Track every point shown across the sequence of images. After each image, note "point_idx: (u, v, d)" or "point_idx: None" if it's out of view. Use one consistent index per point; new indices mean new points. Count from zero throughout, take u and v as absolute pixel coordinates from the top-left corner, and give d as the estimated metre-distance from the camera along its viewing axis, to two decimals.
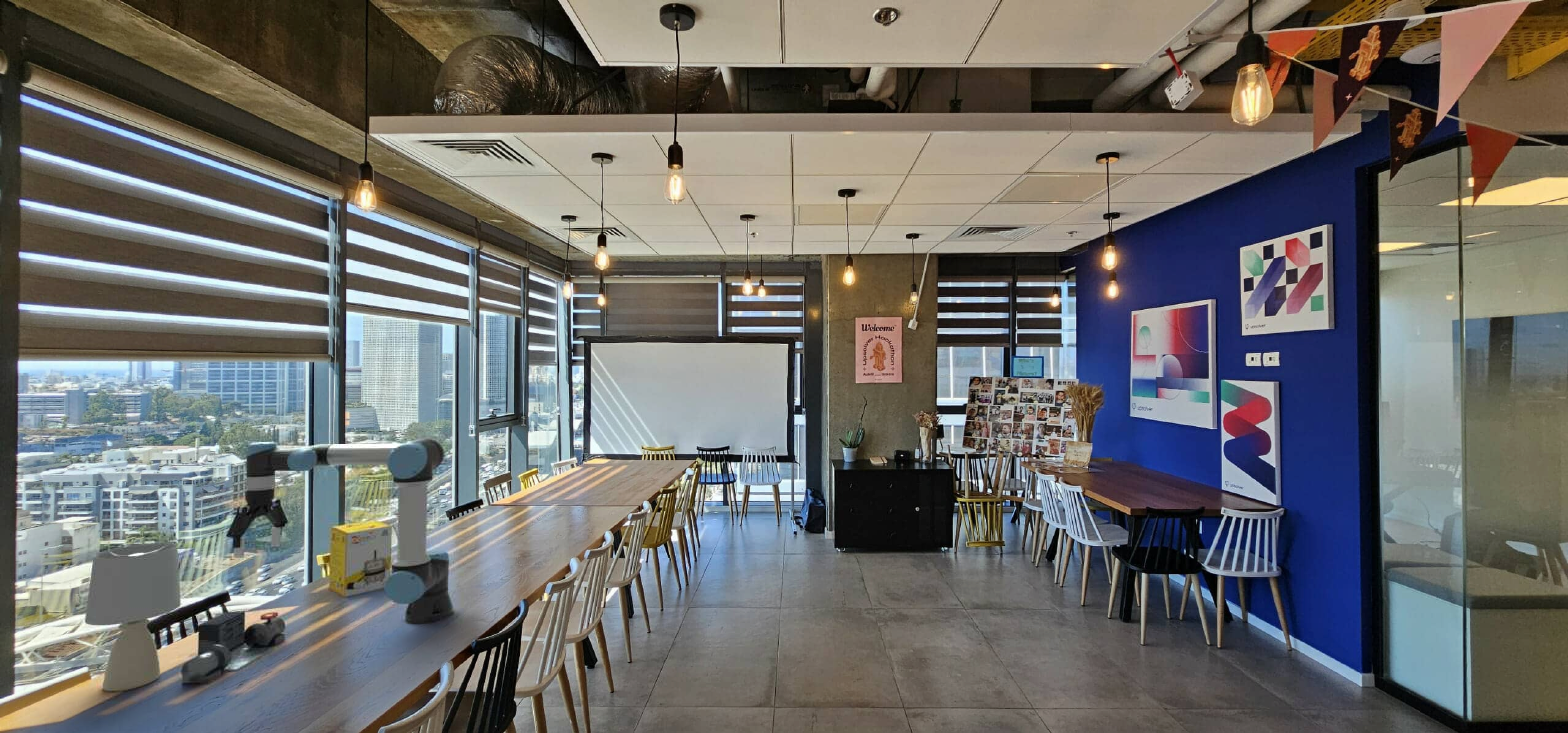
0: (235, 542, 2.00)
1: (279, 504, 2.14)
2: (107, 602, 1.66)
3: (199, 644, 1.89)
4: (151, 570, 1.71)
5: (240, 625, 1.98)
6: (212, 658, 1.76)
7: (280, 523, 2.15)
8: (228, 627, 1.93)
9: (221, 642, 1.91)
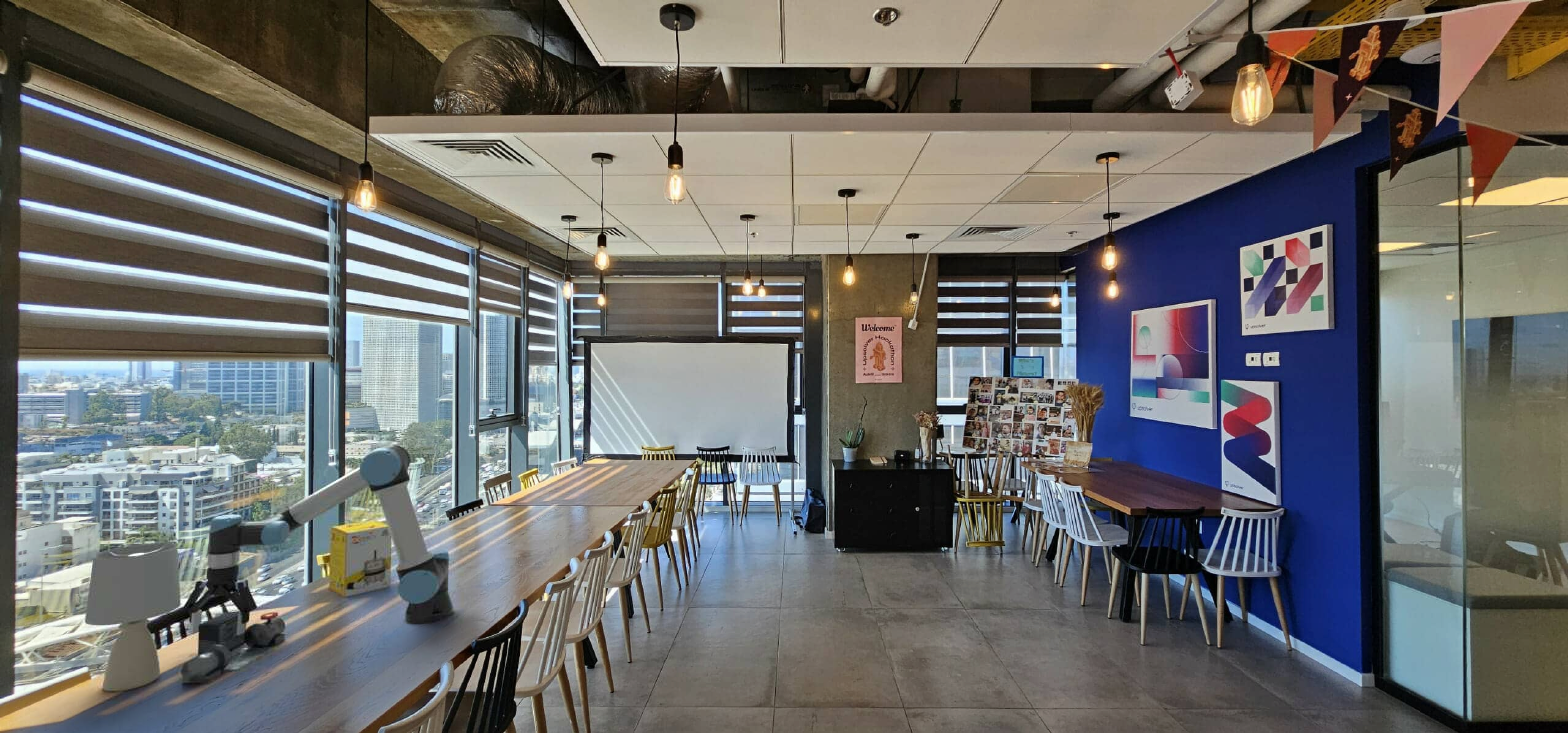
0: None
1: (239, 588, 1.94)
2: (107, 602, 1.66)
3: (199, 644, 1.89)
4: (151, 570, 1.71)
5: None
6: (212, 658, 1.76)
7: (240, 609, 1.94)
8: (228, 627, 1.93)
9: (221, 642, 1.91)
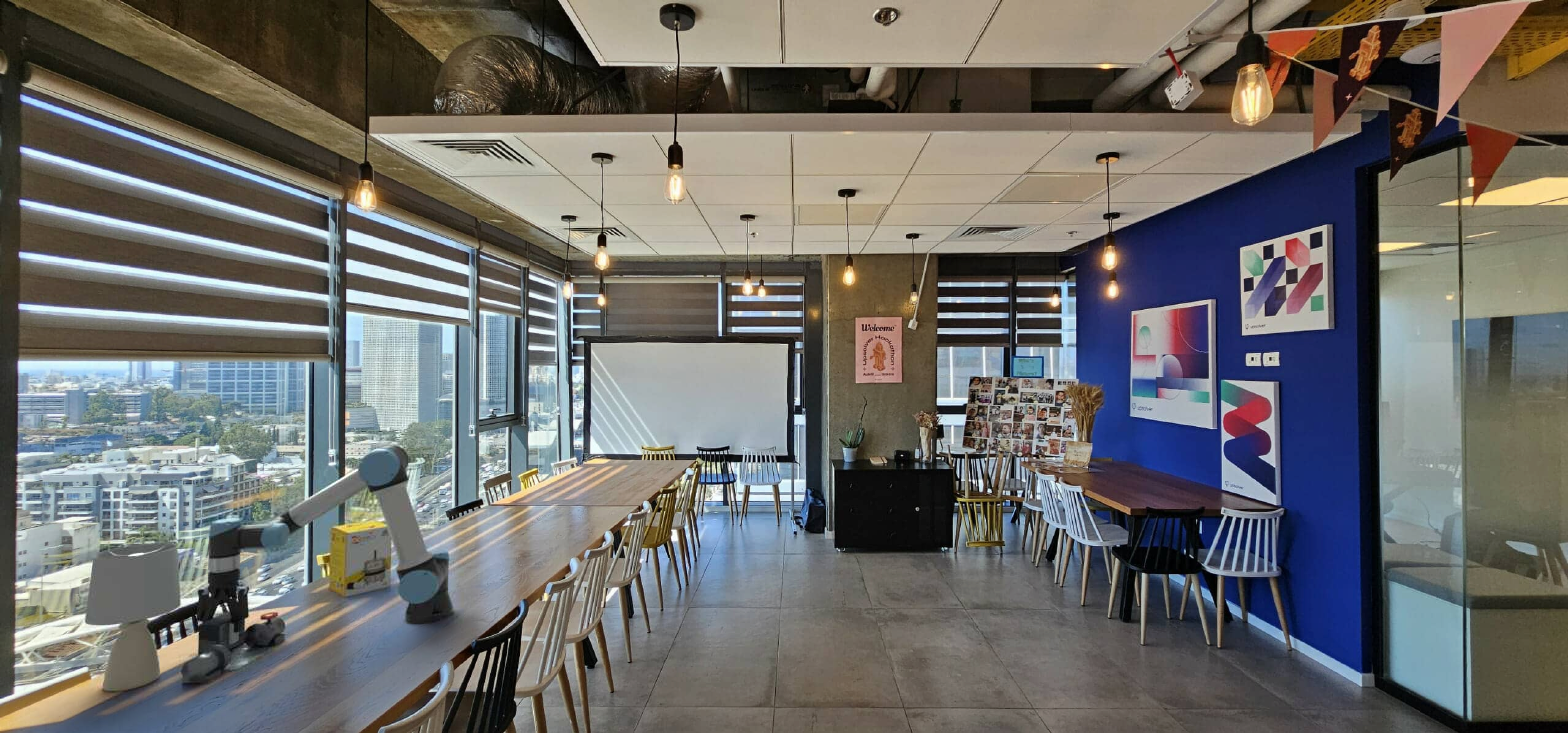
0: None
1: (239, 594, 1.94)
2: (107, 602, 1.66)
3: (199, 644, 1.89)
4: (151, 570, 1.71)
5: None
6: (212, 658, 1.76)
7: (233, 618, 1.94)
8: (228, 627, 1.93)
9: (221, 642, 1.91)
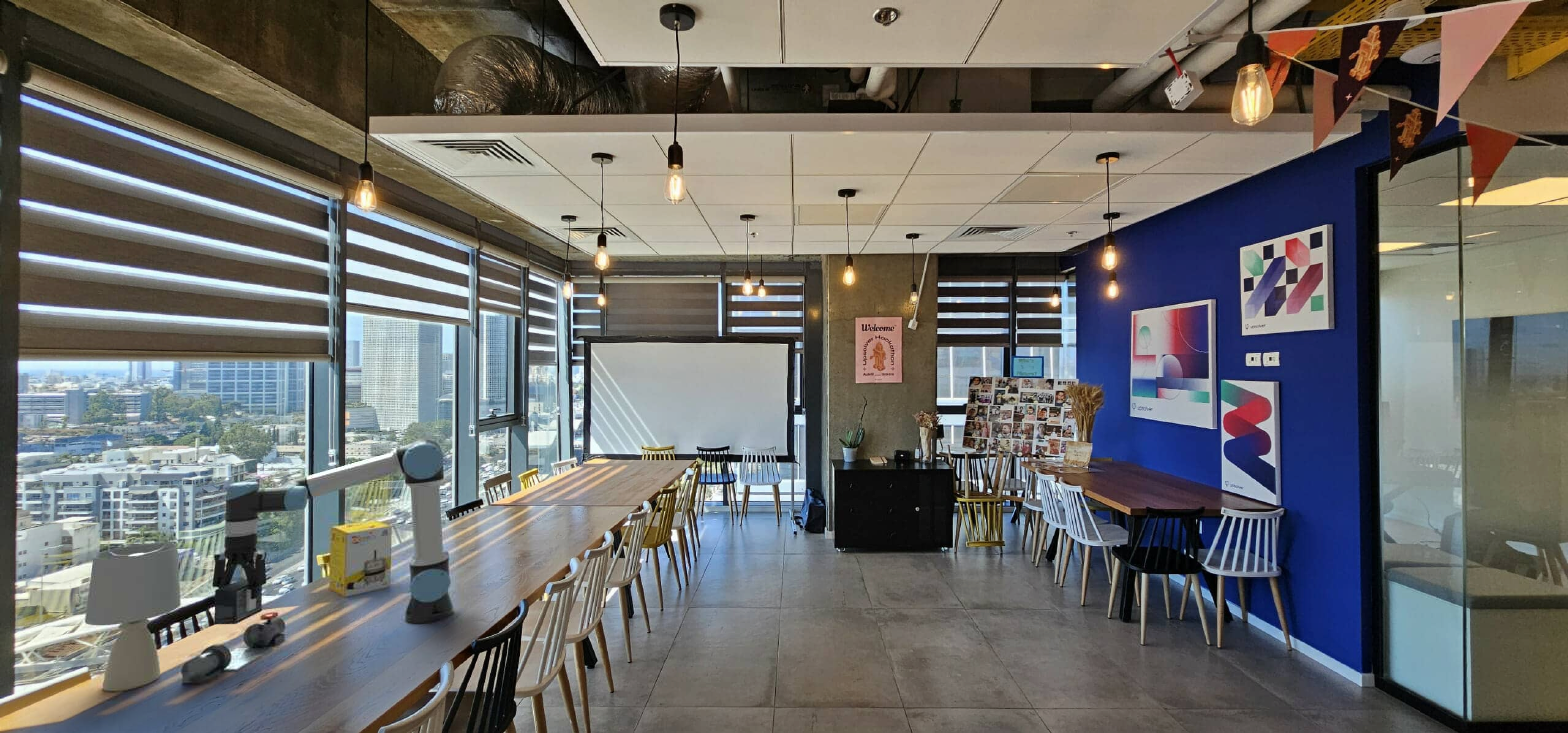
0: None
1: (257, 560, 1.88)
2: (107, 602, 1.66)
3: (215, 610, 1.83)
4: (151, 570, 1.71)
5: None
6: (212, 658, 1.76)
7: (250, 584, 1.88)
8: (245, 593, 1.87)
9: (238, 608, 1.85)
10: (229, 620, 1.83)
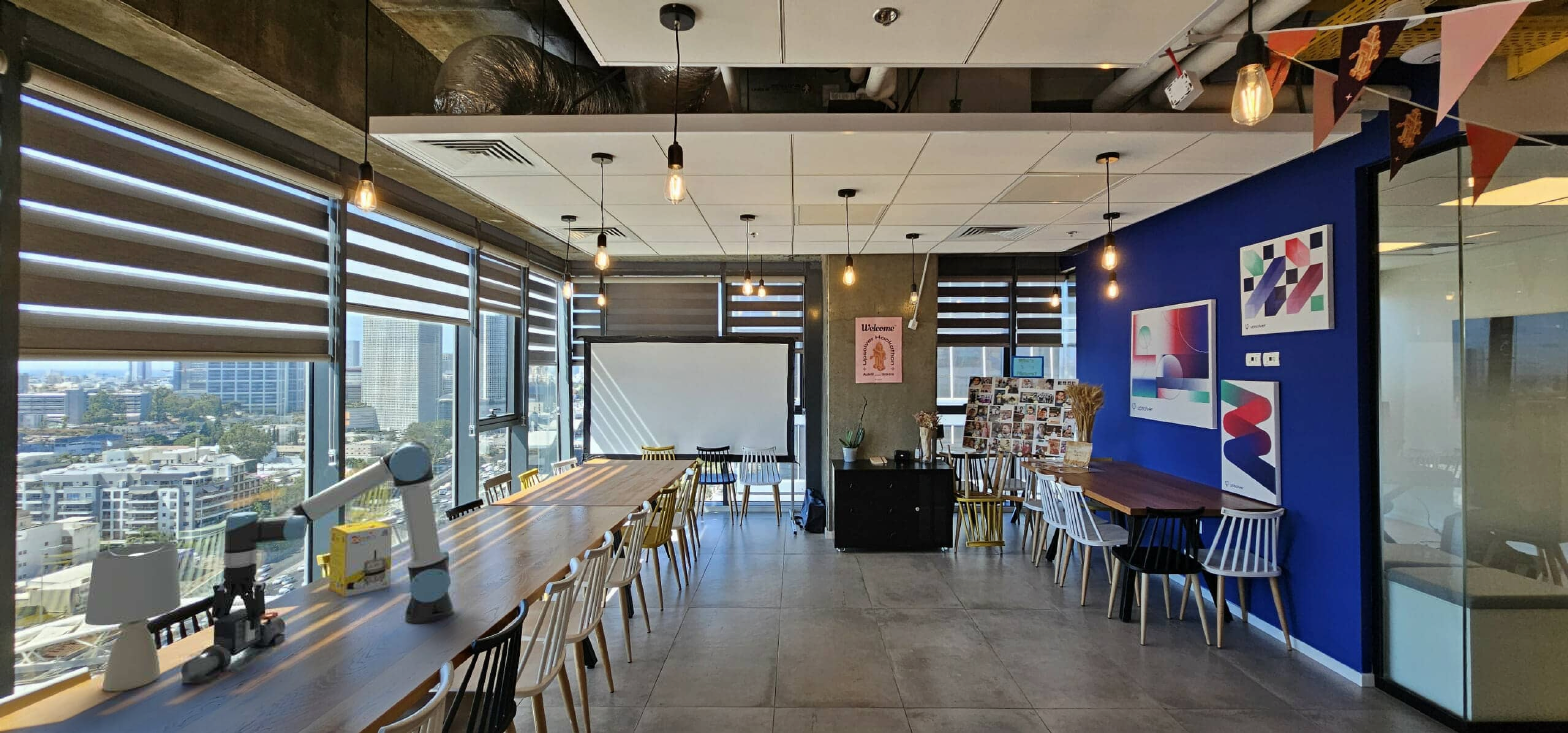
0: None
1: (256, 590, 1.88)
2: (107, 602, 1.66)
3: (214, 641, 1.83)
4: (151, 570, 1.71)
5: None
6: (212, 658, 1.76)
7: (249, 615, 1.88)
8: (244, 624, 1.87)
9: (237, 639, 1.84)
10: None
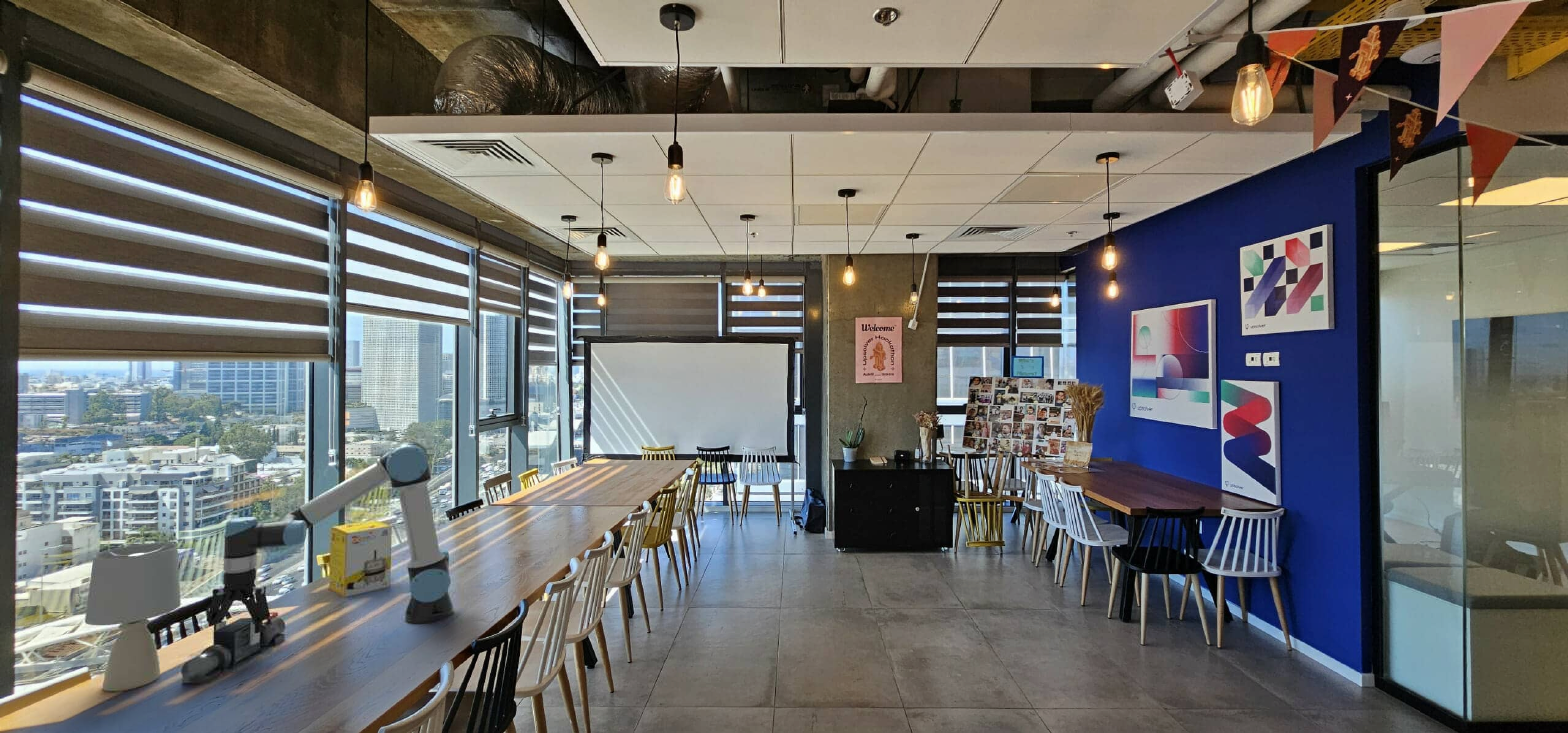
0: None
1: (257, 594, 1.88)
2: (107, 602, 1.66)
3: None
4: (151, 570, 1.71)
5: None
6: (212, 658, 1.76)
7: (254, 618, 1.88)
8: (243, 634, 1.87)
9: (237, 649, 1.84)
10: None
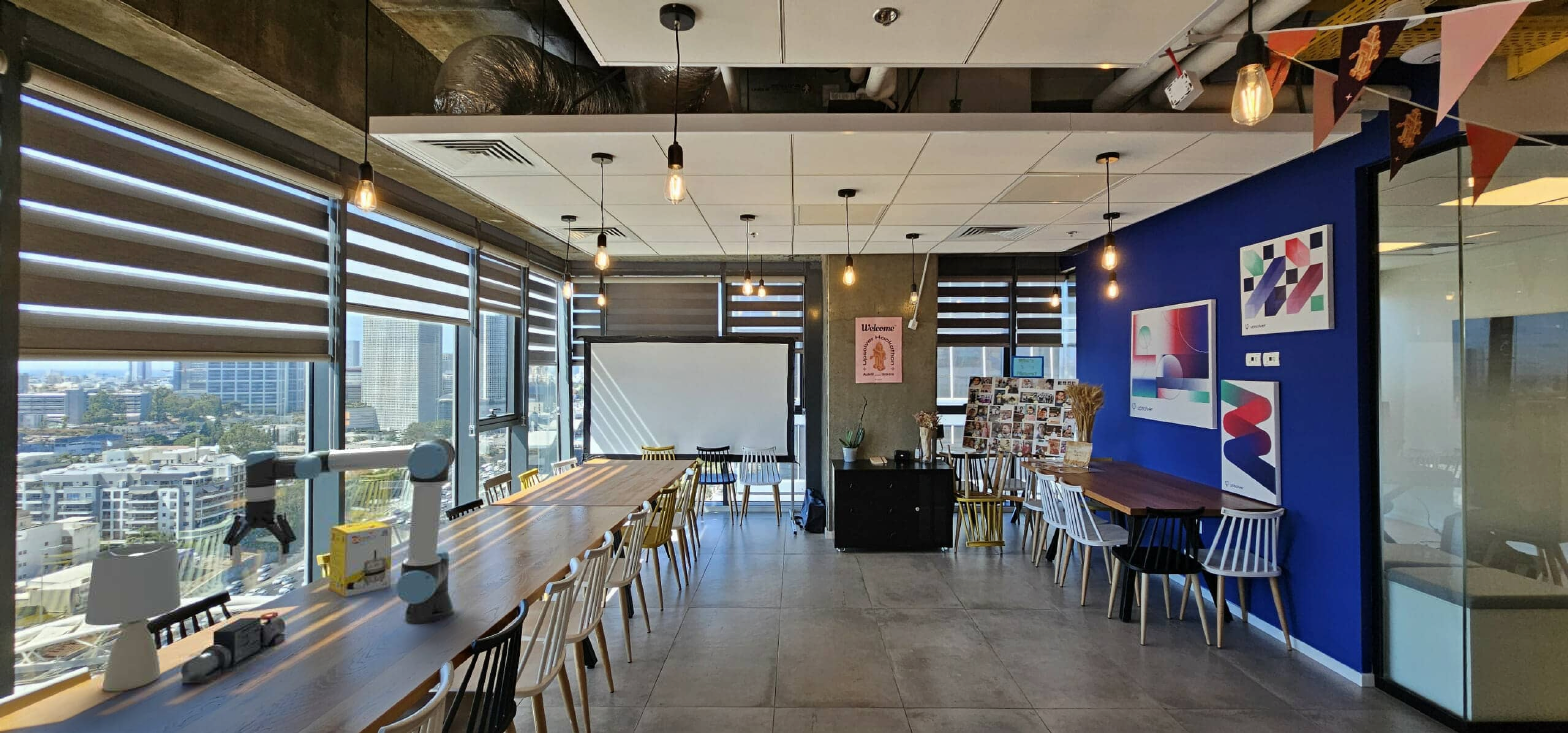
0: None
1: (278, 519, 1.99)
2: (107, 602, 1.66)
3: None
4: (151, 570, 1.71)
5: (256, 632, 1.92)
6: (212, 658, 1.76)
7: (281, 540, 1.99)
8: (243, 634, 1.87)
9: (237, 649, 1.84)
10: None
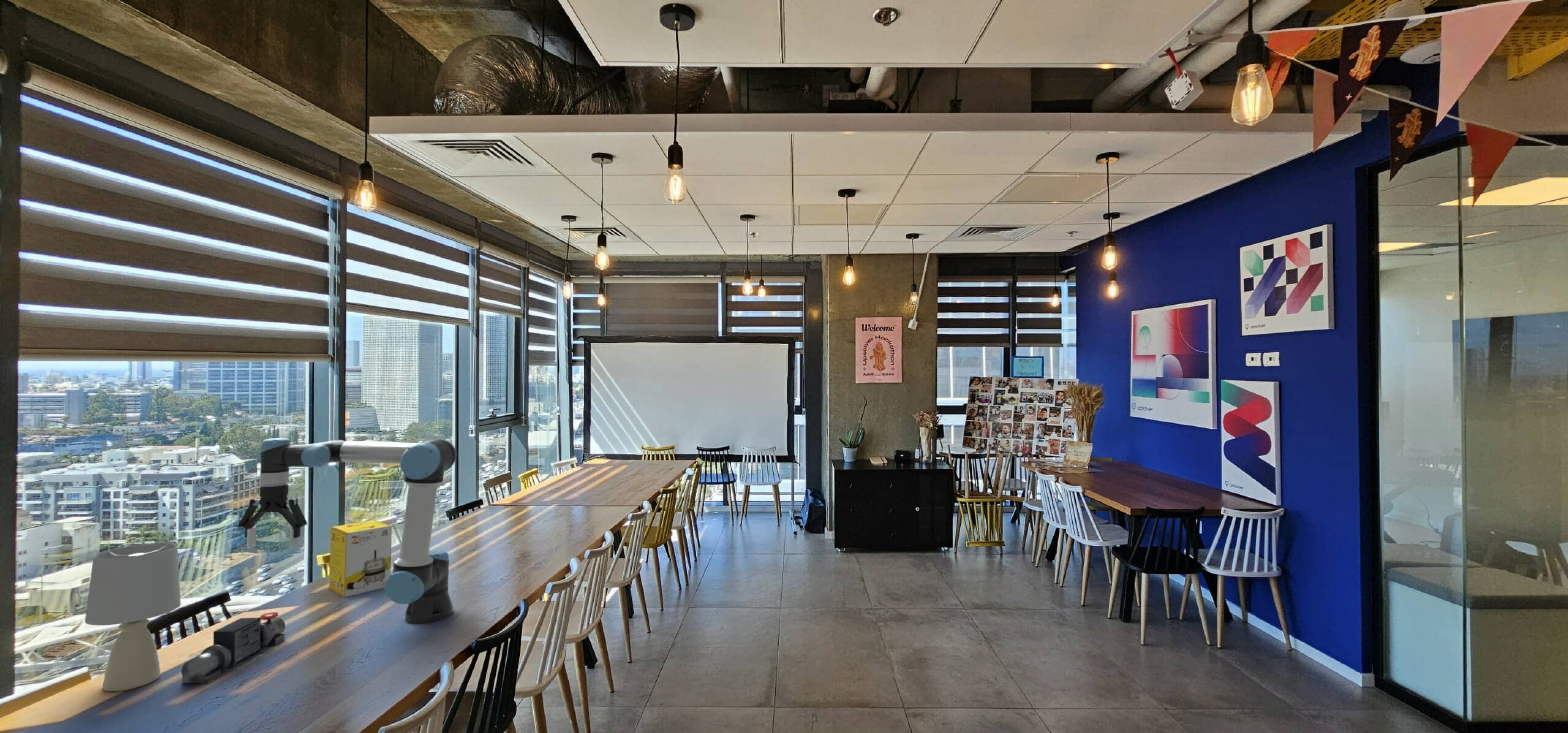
0: None
1: (290, 504, 2.08)
2: (107, 602, 1.66)
3: None
4: (151, 570, 1.71)
5: (256, 632, 1.92)
6: (212, 658, 1.76)
7: (292, 524, 2.08)
8: (243, 634, 1.87)
9: (237, 649, 1.84)
10: None
